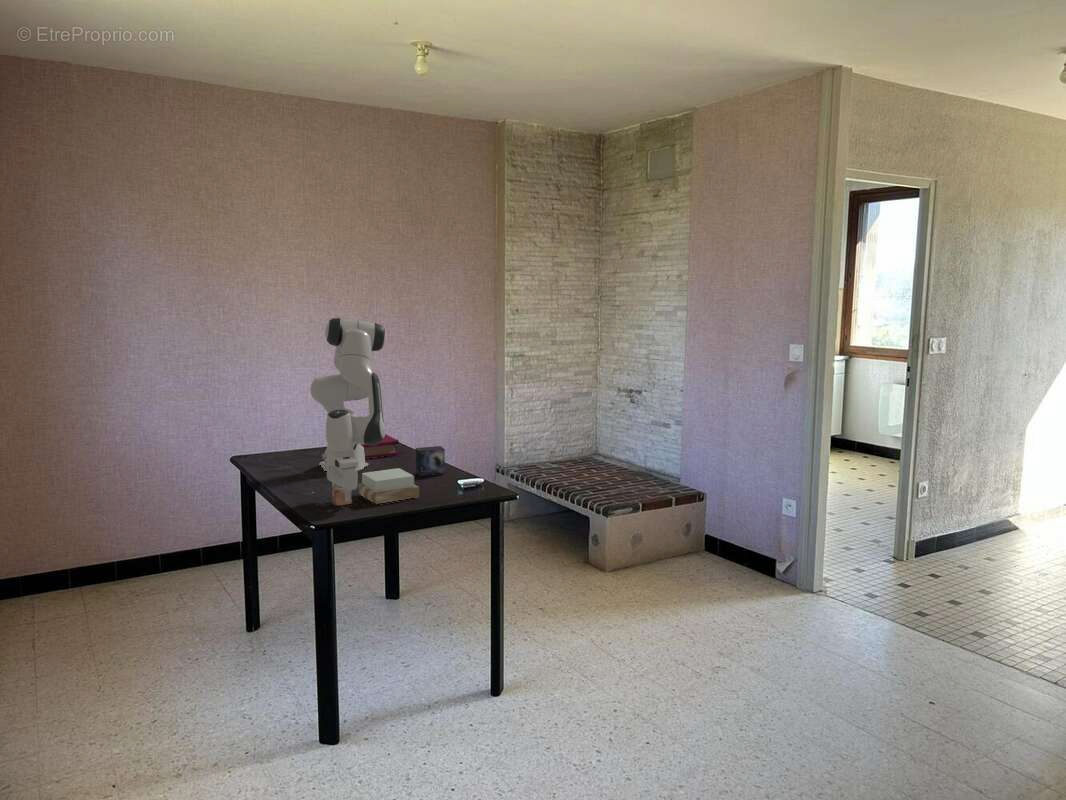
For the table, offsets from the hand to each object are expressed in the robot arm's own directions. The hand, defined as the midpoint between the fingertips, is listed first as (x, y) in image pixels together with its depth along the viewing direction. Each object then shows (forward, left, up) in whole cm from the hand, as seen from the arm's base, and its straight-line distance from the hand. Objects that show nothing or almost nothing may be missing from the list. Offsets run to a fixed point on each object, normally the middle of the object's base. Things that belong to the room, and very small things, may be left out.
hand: (342, 497), depth 261 cm
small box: (-22, +44, -2) cm, 49 cm away
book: (-76, +40, -3) cm, 86 cm away
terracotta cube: (0, 0, -2) cm, 2 cm away
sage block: (0, +17, +2) cm, 17 cm away
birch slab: (0, +17, -3) cm, 17 cm away
